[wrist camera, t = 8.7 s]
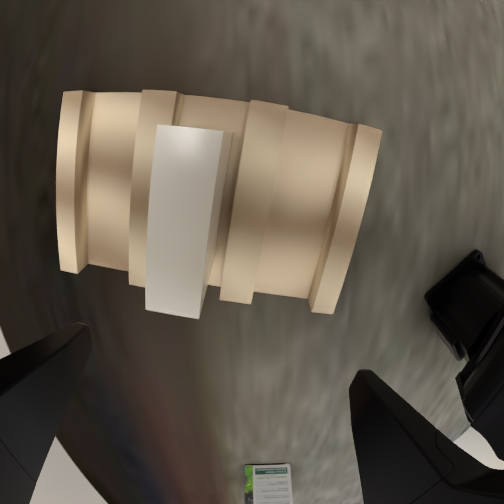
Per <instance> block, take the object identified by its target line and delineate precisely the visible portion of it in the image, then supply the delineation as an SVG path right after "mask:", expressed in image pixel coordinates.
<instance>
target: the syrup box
mask: <svg viewBox="0 0 504 504" xmlns="http://www.w3.org/2000/svg"><path fill="white" fill-rule="evenodd" d="M245 504H293V495H292V484H291V469H290V464H289V463H285V464H280V465H246V466H245Z"/></svg>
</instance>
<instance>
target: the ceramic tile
mask: <svg viewBox="0 0 504 504" xmlns="http://www.w3.org/2000/svg"><path fill="white" fill-rule="evenodd" d="M233 133H234V132H230V131H223V130H215V129H208V128H199V127H189V126H176V125H159V124H157V129H156V137H155V145H154V153H153V162H152V171H151V182H150V193H149V207H148V222H147V242H146V285H145V300H146V310H150V311H156V312H161V313H166V314H172V315H177V316H183V317H189V318H195V319H199V317H200V313H201V309H202V305H203V301H204V297H205V293H206V289H207V285H208V281H209V278H210V274H211V270H212V266H213V262H214V258H215V252H216V245H217V237H218V230H219V223H220V216H221V209H222V202H223V195H224V189H225V182H226V176H227V169H228V163H229V157H230V151H231V145H232V139H233Z"/></svg>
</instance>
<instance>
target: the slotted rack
mask: <svg viewBox="0 0 504 504" xmlns="http://www.w3.org/2000/svg"><path fill="white" fill-rule="evenodd" d="M157 124H159V125H176V126H189V127H199V128H208V129H215V130H223V131H230V132H234V133H233V139H232V145H231V151H230V157H229V163H228V169H227V176H226V182H225V189H224V195H223V202H222V209H221V216H220V223H219V230H218V237H217V245H216V252H215V258H214V262H213V266H212V270H211V274H210V278H209V281H208V285H213V286H220V287H221V292H220V300H224V301H231V302H238V303H245V304H251V302H252V296H253V291H254V292H261V293H268V294H275V295H283V296H291V297H298V298H306V299H308V302H309V305H310V308H311V311H312V312H317V313H326V314H333V312H334V309H335V307H336V304H337V301H338V298H339V295H340V292H341V289H342V286H343V282H344V279H345V276H346V273H347V270H348V266H349V263H350V260H351V257H352V253H353V250H354V246H355V243H356V239H357V236H358V232H359V229H360V225H361V221H362V218H363V214H364V210H365V206H366V202H367V198H368V194H369V190H370V186H371V182H372V177H373V173H374V168H375V164H376V159H377V155H378V150H379V145H380V140H381V135H382V130H379V129H376V128H372V127H369V126H366V125H363V124H359V123H356V124H348V123H345V122H341V121H337V120H333V119H329V118H325V117H321V116H317V115H312V114H308V113H303V112H299V111H294V110H289V109H288V106H285V105H279V104H274V103H268V102H263V101H257V100H251V102H243V101H236V100H229V99H221V98H212V97H203V96H192V95H183V94H181V93H179V92H177V91H163V90H142V93H136V92H104V93H94V92H88V91H68V92H63V99H62V106H61V115H60V124H59V135H58V148H57V169H56V213H57V234H58V248H59V259H60V268H61V270H62V271H67V272H71V273H76V274H78V273H79V272H80V271H81V270H82V269H83V268H84V267H85V266H86V265H87V264H92V265H98V266H103V267H108V268H113V269H119V270H124V271H129V284H130V285H135V286H140V287H145V285H146V242H147V222H148V207H149V193H150V182H151V171H152V162H153V153H154V145H155V137H156V129H157Z"/></svg>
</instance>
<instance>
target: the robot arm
mask: <svg viewBox="0 0 504 504" xmlns="http://www.w3.org/2000/svg"><path fill="white" fill-rule="evenodd" d="M477 255H478V256H477ZM476 257H477V258H476ZM431 296H432V297H431ZM430 297H431V298H430ZM425 301H426V302H427V304H428V306H429V308H430V310H431V312H432V315H431V316H430V320H431V322H432V324H433V326H434V328H435V330H436V332H437V334H438V335H439V336H440V338H441V339H442V340H443V342H444V343H445V344H446V346H447V347H448V348H449V350H450V351H451V353H452V354H453V355H454V357H455V358H456V359H457V360H459V361H461V360H462V359H463V358H464V359H465V360H466V361H467V364H466V365H465V367H464V368H463V370H462V371H461V372H459V374H458V375H457V376H456V378H455V379H456V382H457V385H458V389H459V392H460V396H461V399H462V403H463V407H464V410H465V414H466V416H467V419H468V421H469V422H470V423H471V424H470V425H471V427H473V428H474V429H475V430H476V431H478V432H479V433H480V434H481V435H482V436H483V437H484V438H485V439H486V440H487V441H488V443H489V444H490V446H491V447H492V449H493V450H494V452H495V454H496V456H497V457H498V458H499V459H501V460H503V461H504V279H502V278H501V277H500V276H498V275H497V274H496V273H495V272H493V271H492V270H491V269H489V268H488V267H487V266H486V264H485V261H484V257H483V254H482V252H480V251H479V250H475V251H474V252H473V253H472V254H471V255H470V256H469V257H468V258H467V259H465V260H464V261H463V262H462V263H461V264H460V265H459V266H458V267H457V268H456V269H454V270H453V271H452V272H451V273H450V274H449V275H448V276H447V277H445V278H444V279H443V280H442V281H441V282H440V283H438V284H437V285H436V286H435V287H434V288H433V289H431V290H430V291H429V292H428V293H427V294H426V296H425ZM91 350H92V340H91V333H90V328H89V326H88V325H87V324H83V323H80V322H77V323H74V324H72V325H70V326H68V327H66V328H64V329H62V330H60V331H58V332H56V333H53V334H51V335H49V336H47V337H45V338H43V339H41V340H39V341H37V342H35V343H33V344H31V345H28V346H26V347H24V348H22V349H20V350H18V351H16V352H14V353H12V354H10V355H8V356H6V357H4V358H2V359H0V504H29V503H30V500H31V497H32V494H33V491H34V489H35V486H36V482H37V480H38V477H39V475H40V472H41V469H42V467H43V464H44V462H45V459H46V457H47V454H48V452H49V449H50V447H51V445H52V442H53V440H54V437H55V435H56V433H57V431H58V428H59V426H60V424H61V422H62V420H63V417H64V415H65V413H66V411H67V409H68V406H69V404H70V402H71V400H72V398H73V396H74V394H75V392H76V390H77V387H78V385H79V382H80V380H81V377H82V374H83V371H84V369H85V366H86V363H87V361H88V358H89V355H90V353H91ZM349 399H350V412H351V425H352V433H353V439H354V444H355V450H356V456H357V462H358V468H359V474H360V480H361V487H362V494H363V501H364V504H504V470H497V469H492V468H489V467H487V466H485V465H483V464H482V463H481V462H479V461H478V460H476V459H475V458H474V457H472V456H471V455H469V454H468V453H467V452H465V451H464V450H462V449H461V448H459V447H458V446H457V445H456V444H454V443H453V442H452V441H451V440H449V439H448V438H447V437H446V436H445V435H444V434H442V433H441V432H440V431H439V430H438V429H436V428H435V427H434V426H433V425H432V424H431V423H430V422H429V421H428V420H426V419H425V418H424V417H423V416H422V415H421V414H420V413H419V412H417V411H416V410H415V409H414V408H413V407H412V406H411V405H410V404H408V403H407V402H406V401H405V400H404V399H403V398H402V397H401V396H399V395H398V394H397V393H396V392H395V391H394V390H393V389H392V388H390V387H389V386H388V385H387V384H386V383H385V382H384V381H383V380H382V379H380V378H379V377H378V376H377V375H376V374H375V373H374V372H373V371H371V370H366V369H361V370H359V371H358V372H357V374H356V376H355V377H354V379H353V381H352V383H351V385H350V387H349Z"/></svg>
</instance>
